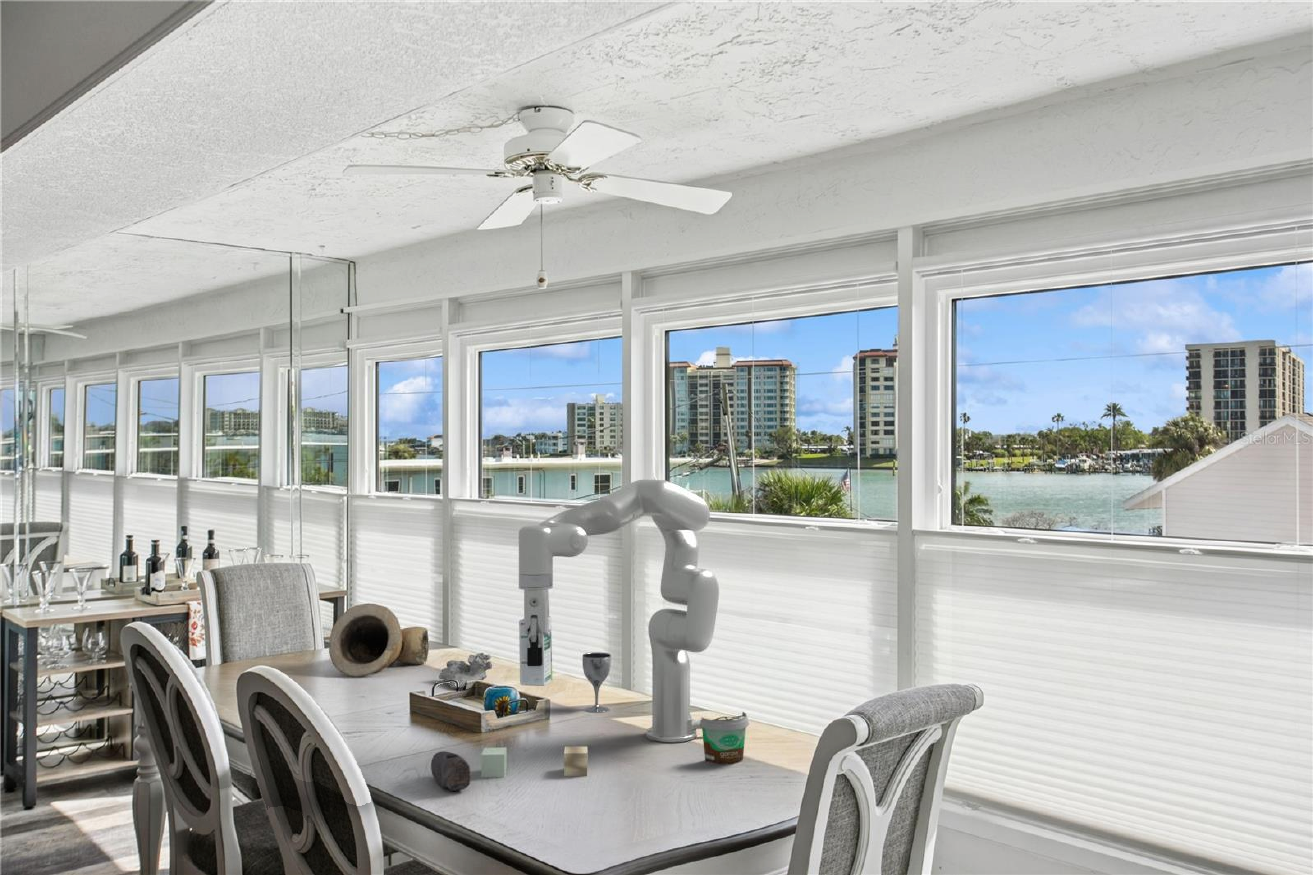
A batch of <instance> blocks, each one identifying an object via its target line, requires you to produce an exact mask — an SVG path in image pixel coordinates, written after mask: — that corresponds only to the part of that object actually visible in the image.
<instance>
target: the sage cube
mask: <svg viewBox="0 0 1313 875" xmlns="http://www.w3.org/2000/svg"><path fill="white" fill-rule="evenodd" d="M507 752H508V750H507V747H484V748H483V749H482V752H481V755H480V756H481V761H480V762H481V764H480V765H481V766H480V770H481V774H480V777H481V778H505V776H506V774H507V770H508V766H507V765H508V764H507V763H508V762H507V760H508V758H507V757H508V756H507V754H508V753H507Z"/></svg>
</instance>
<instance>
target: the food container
mask: <svg viewBox="0 0 1313 875" xmlns="http://www.w3.org/2000/svg"><path fill="white" fill-rule="evenodd" d="M741 714H742V715H738V716H720V717H718V718H714V719H708V718H705V717H701V718H700V720H701V721H700V726H699V727H702V729H701V731H702V740H703V741H702V743H703V750H704V751H703V752H704V753H703V754H704V761H705V762H707V763H711V764H714V765H715V764H717V765H733V764H734V765H735V764H737V763H740V762H742V761H743V759H744V753H745V752H744V751H745V740H746V728H747V727H749V725H750V723H749V718H748V716H747V713H746V712H744V711H742V713H741Z"/></svg>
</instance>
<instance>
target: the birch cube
mask: <svg viewBox="0 0 1313 875" xmlns="http://www.w3.org/2000/svg"><path fill="white" fill-rule="evenodd" d="M587 776H588V746H565V747H564V752H563V777H587Z"/></svg>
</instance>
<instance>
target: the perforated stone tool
mask: <svg viewBox="0 0 1313 875" xmlns="http://www.w3.org/2000/svg"><path fill="white" fill-rule="evenodd" d="M430 768H431V774H432V776H433V778H434V780H435V781H437V783H438V784H439V785H440V786H442V788H445V789H446V788H447V787H448V790H449V791H452V792H453V791H454V792H455V791H459V790H465V789H466V788H468V787H469V785H470V783H471V779H472V776H471V775H472V773H471V772H472V771H471V768H470V764H469V763H468V762H467V761H466V760H465V759H464V758H463V757H462V756H460V754H456V753H453V752H450V751H438V752H436V753H435V754H434V755H433V756H432V758H431V761H430Z"/></svg>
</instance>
